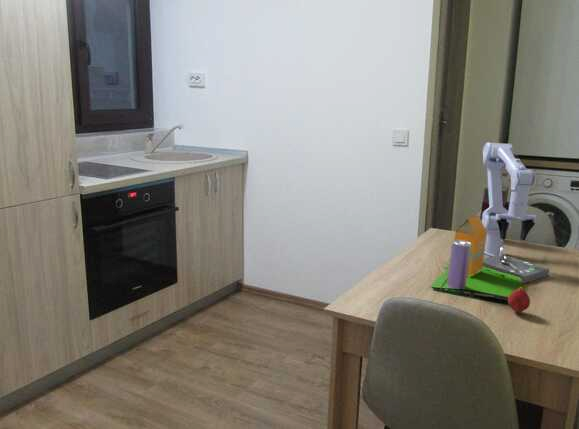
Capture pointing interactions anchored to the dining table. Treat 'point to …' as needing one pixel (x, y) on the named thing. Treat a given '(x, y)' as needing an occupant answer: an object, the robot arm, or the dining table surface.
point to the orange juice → (473, 241)
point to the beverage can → (459, 264)
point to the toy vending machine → (486, 199)
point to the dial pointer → (505, 258)
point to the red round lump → (519, 300)
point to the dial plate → (524, 269)
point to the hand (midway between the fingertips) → (512, 239)
